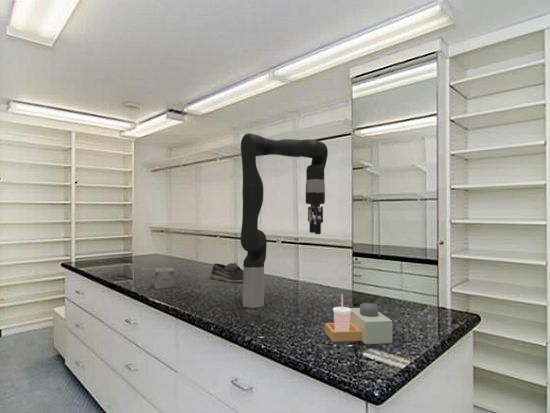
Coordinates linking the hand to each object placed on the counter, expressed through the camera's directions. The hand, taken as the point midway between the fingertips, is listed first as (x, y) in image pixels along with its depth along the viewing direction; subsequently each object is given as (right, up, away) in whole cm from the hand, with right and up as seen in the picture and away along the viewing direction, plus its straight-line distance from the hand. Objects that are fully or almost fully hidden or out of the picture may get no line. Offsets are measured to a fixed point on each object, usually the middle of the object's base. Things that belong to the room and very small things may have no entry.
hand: (315, 233), depth 140 cm
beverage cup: (+7, -33, -19) cm, 39 cm away
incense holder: (-75, -34, +54) cm, 98 cm away
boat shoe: (-42, -34, +74) cm, 92 cm away
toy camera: (+11, -33, -19) cm, 40 cm away
